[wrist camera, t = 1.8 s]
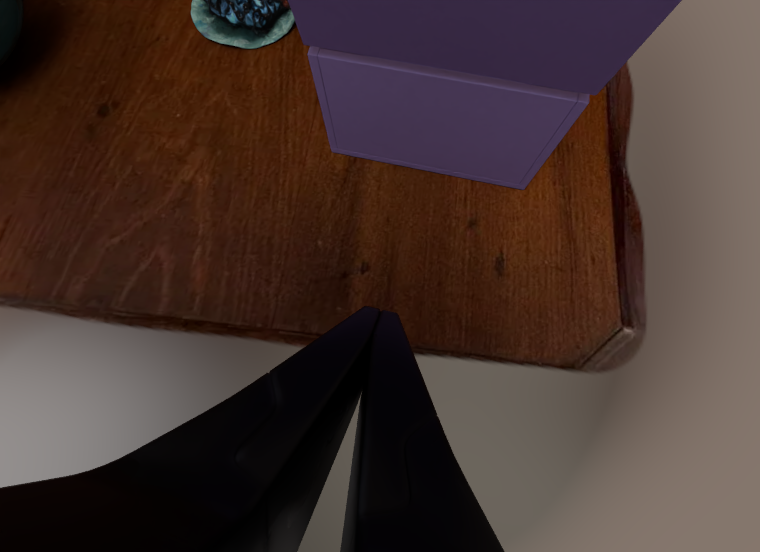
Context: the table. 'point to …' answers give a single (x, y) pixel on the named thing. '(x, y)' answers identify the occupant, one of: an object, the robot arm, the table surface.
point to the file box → (440, 117)
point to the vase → (10, 26)
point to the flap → (490, 35)
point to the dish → (242, 21)
